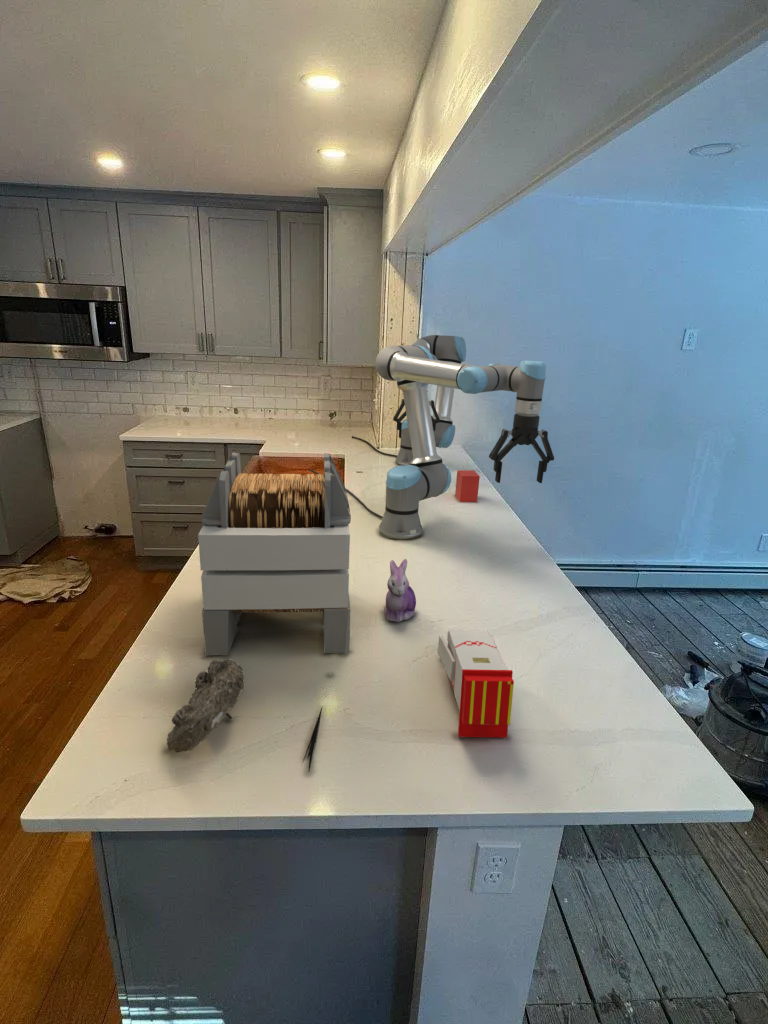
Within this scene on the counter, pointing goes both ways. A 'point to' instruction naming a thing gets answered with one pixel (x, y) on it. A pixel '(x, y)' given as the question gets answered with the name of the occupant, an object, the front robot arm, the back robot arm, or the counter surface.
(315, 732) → the feather
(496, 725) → the toy
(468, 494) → the block
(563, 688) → the counter surface
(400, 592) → the figurine
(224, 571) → the record crate stand
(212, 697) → the grey elongated lump
